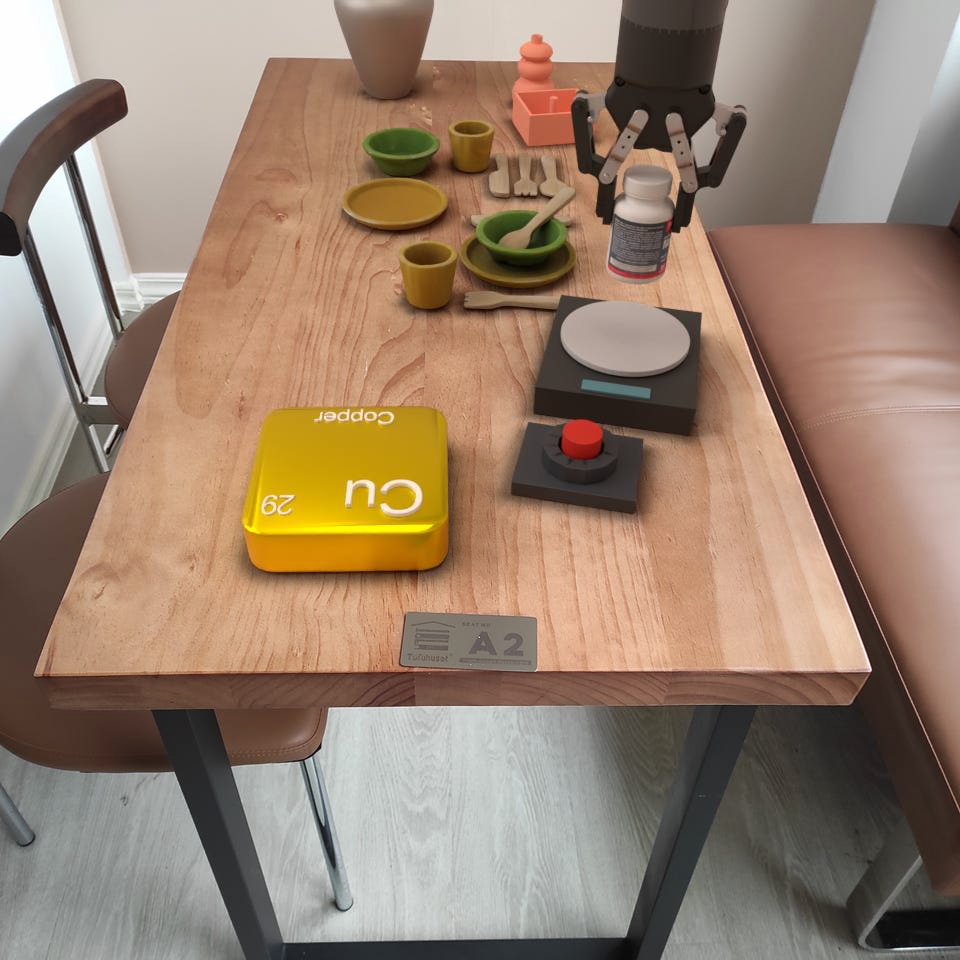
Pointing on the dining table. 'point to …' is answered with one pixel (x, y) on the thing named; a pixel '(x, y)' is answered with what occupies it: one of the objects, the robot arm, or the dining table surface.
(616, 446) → the block
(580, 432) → the button
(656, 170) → the pill bottle
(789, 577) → the dining table surface
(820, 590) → the dining table surface
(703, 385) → the dining table surface
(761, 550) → the dining table surface
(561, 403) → the scale
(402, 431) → the element tile
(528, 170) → the tableware set
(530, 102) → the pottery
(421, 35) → the vase
